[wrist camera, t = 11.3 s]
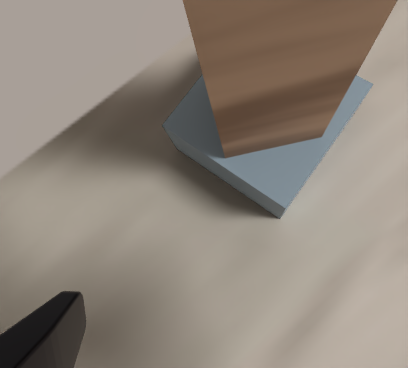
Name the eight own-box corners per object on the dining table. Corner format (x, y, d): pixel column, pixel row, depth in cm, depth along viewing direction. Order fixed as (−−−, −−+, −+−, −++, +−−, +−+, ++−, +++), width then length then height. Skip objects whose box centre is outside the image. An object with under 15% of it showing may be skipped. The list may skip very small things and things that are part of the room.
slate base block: (351, 117, 21) (373, 84, 17) (279, 219, 20) (285, 208, 16) (247, 60, 23) (245, 18, 19) (177, 150, 22) (162, 125, 18)
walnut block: (321, 137, 17) (503, -191, 5) (225, 158, 17) (159, -88, 5) (297, 53, 18) (388, -377, 6) (207, 75, 18) (122, -280, 6)
